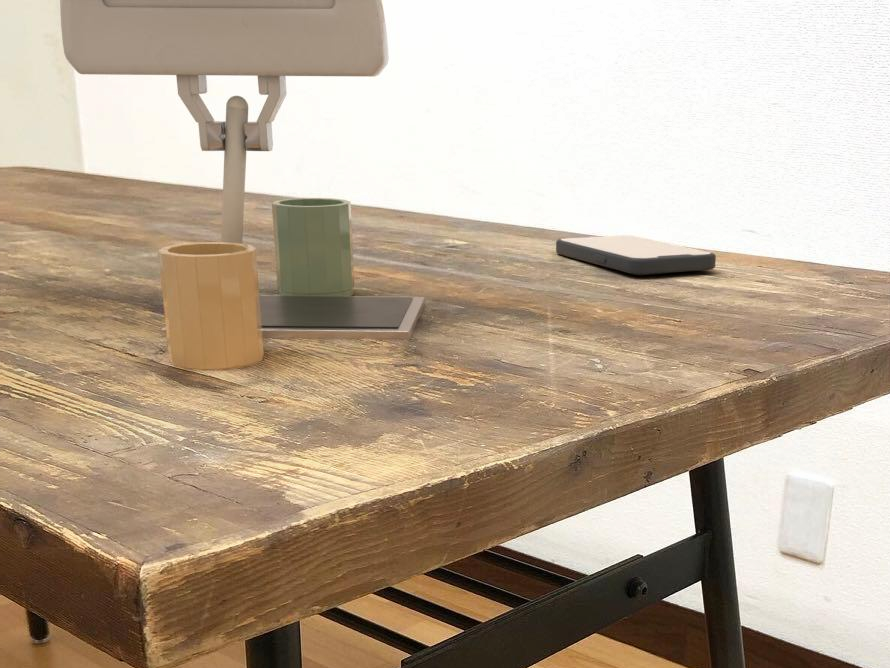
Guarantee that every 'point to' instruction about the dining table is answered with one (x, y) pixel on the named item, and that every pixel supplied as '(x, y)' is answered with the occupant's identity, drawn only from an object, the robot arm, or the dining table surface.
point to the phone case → (636, 254)
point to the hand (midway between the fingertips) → (237, 150)
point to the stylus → (234, 170)
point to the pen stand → (211, 305)
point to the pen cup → (313, 247)
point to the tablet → (338, 317)
